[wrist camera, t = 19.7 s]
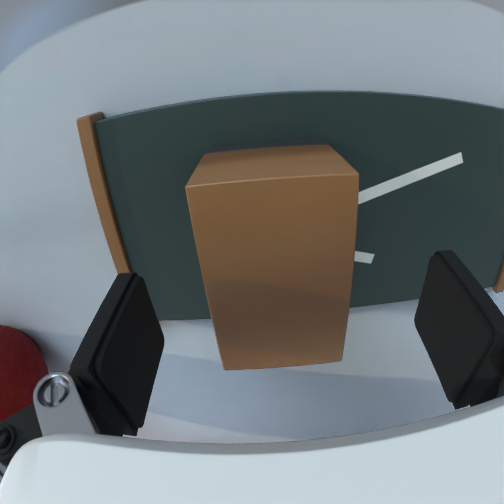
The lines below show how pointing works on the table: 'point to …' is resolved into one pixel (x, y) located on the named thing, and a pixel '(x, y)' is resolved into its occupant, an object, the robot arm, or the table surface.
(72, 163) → the table surface
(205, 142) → the slate board
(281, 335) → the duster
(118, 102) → the table surface
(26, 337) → the apple
